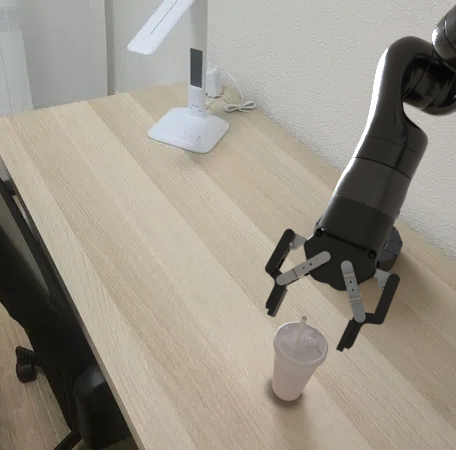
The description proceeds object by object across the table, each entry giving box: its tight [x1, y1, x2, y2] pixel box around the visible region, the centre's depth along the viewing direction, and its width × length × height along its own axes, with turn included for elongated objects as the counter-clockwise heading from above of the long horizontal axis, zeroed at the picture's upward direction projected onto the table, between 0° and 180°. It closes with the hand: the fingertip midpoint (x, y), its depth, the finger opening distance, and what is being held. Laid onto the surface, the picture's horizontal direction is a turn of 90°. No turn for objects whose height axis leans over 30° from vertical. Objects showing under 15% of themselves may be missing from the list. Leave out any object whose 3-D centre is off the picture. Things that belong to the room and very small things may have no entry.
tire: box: [312, 213, 404, 272], centre depth 92 cm, size 14×14×3 cm
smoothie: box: [271, 315, 329, 402], centre depth 67 cm, size 6×6×14 cm
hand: (304, 332), depth 64 cm, fingers open, 8 cm apart
